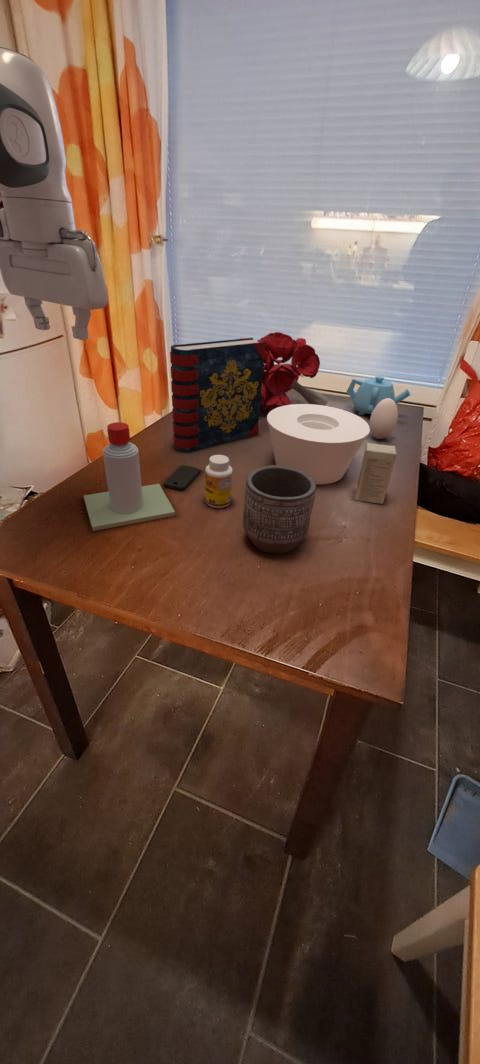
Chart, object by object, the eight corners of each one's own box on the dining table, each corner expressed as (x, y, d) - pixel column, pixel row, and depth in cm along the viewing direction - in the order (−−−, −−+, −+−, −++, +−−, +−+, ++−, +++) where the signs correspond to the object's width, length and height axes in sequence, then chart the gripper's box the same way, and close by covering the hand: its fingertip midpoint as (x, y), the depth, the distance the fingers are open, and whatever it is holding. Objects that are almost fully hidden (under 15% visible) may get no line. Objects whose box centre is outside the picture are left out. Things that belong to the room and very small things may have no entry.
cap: (127, 435, 79) (126, 421, 77) (131, 443, 76) (130, 428, 74) (107, 437, 77) (105, 423, 76) (111, 446, 75) (109, 431, 73)
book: (181, 454, 107) (179, 351, 92) (168, 444, 111) (164, 344, 97) (259, 435, 120) (267, 342, 105) (244, 427, 124) (250, 336, 109)
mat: (92, 531, 79) (92, 527, 78) (84, 499, 87) (83, 495, 87) (175, 515, 84) (175, 511, 84) (159, 487, 93) (159, 483, 92)
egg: (382, 445, 119) (394, 404, 112) (360, 436, 123) (370, 397, 117) (396, 439, 123) (408, 400, 117) (374, 431, 128) (384, 392, 121)
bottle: (114, 516, 81) (103, 438, 72) (107, 499, 86) (96, 425, 76) (146, 510, 84) (140, 434, 74) (139, 494, 88) (132, 421, 79)
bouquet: (297, 416, 153) (228, 371, 142) (341, 361, 140) (269, 306, 130) (305, 445, 136) (227, 396, 126) (355, 385, 124) (273, 324, 113)
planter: (266, 515, 86) (273, 458, 79) (317, 539, 81) (329, 481, 73) (228, 540, 79) (231, 480, 71) (281, 570, 73) (290, 508, 65)
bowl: (378, 475, 104) (391, 429, 97) (309, 502, 92) (319, 451, 85) (309, 440, 119) (316, 398, 112) (243, 459, 107) (246, 413, 100)
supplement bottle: (201, 497, 90) (201, 454, 84) (225, 493, 92) (227, 451, 86) (209, 511, 86) (210, 466, 80) (234, 507, 88) (237, 463, 82)
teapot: (339, 415, 137) (346, 378, 130) (347, 400, 150) (354, 366, 143) (402, 427, 132) (413, 389, 125) (404, 410, 145) (415, 375, 138)
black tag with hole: (201, 468, 99) (183, 488, 92) (201, 471, 100) (183, 490, 92) (181, 464, 101) (162, 483, 93) (181, 467, 101) (162, 486, 93)
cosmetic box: (382, 495, 96) (397, 445, 89) (383, 505, 93) (398, 454, 85) (354, 490, 97) (366, 441, 90) (353, 499, 94) (366, 449, 86)
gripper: (111, 231, 56) (122, 342, 64) (20, 224, 65) (40, 322, 73) (71, 229, 52) (89, 348, 60) (-20, 222, 61) (6, 326, 69)
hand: (61, 334), depth 67 cm, fingers open, 8 cm apart
